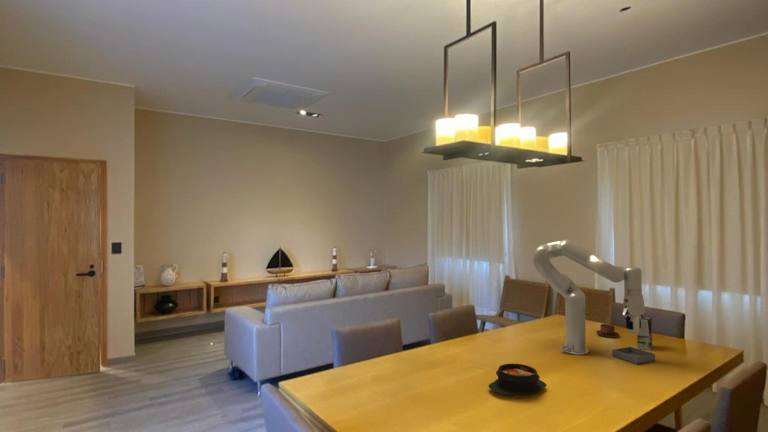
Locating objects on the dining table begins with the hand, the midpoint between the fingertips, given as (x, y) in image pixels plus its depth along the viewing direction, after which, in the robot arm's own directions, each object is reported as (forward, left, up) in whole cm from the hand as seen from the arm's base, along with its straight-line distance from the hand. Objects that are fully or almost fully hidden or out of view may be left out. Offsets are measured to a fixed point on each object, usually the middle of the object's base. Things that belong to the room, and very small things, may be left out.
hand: (633, 328), depth 208 cm
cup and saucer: (+25, +35, -16) cm, 45 cm away
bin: (0, 0, -15) cm, 15 cm away
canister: (0, 0, -2) cm, 2 cm away
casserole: (-79, -7, -16) cm, 81 cm away
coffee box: (+23, +10, -16) cm, 29 cm away
